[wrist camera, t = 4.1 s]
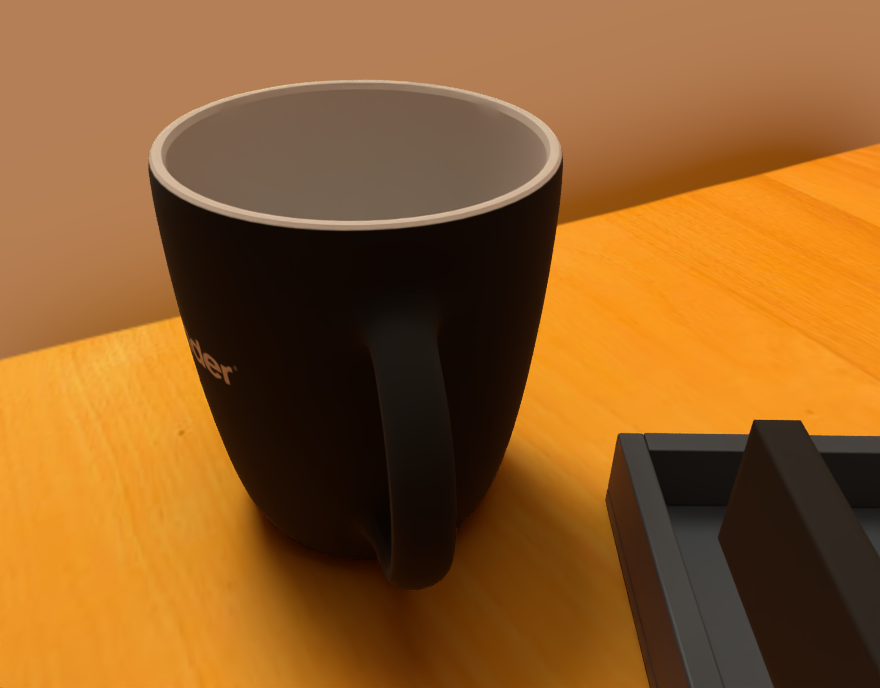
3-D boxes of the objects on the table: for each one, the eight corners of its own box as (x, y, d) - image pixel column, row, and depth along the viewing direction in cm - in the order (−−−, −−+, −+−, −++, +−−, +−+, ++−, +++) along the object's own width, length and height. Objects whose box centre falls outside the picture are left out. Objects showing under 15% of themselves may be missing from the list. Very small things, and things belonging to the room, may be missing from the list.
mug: (214, 401, 26) (158, 86, 20) (481, 370, 28) (499, 71, 22) (208, 760, 16) (101, 350, 11) (619, 678, 18) (715, 288, 12)
